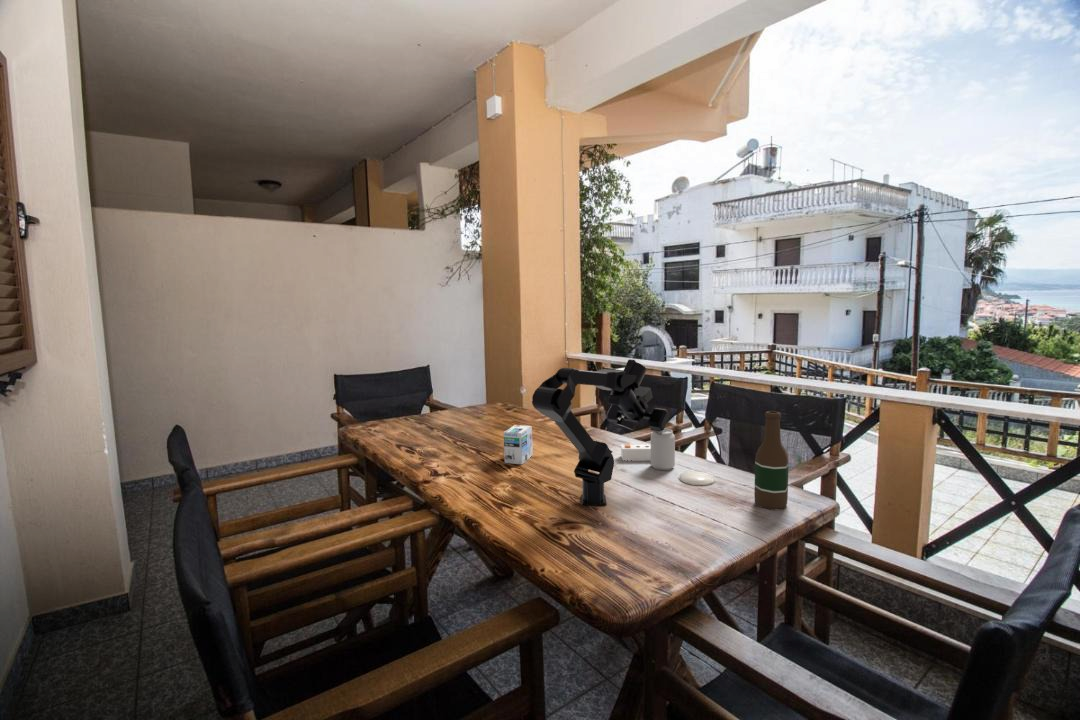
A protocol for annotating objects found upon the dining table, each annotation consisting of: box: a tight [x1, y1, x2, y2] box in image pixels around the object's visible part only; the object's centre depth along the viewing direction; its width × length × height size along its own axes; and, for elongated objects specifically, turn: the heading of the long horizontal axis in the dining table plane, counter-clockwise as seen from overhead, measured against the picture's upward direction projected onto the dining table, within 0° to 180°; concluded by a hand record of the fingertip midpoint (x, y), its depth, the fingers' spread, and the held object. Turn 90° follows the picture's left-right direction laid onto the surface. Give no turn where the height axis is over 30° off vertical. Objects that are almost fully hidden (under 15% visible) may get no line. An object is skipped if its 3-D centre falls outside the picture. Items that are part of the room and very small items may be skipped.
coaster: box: [678, 471, 716, 486], centre depth 143 cm, size 10×10×1 cm
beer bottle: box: [754, 410, 789, 511], centre depth 123 cm, size 8×8×24 cm
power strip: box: [620, 443, 651, 462], centre depth 163 cm, size 5×14×5 cm, turn 86°
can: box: [650, 428, 676, 471], centre depth 154 cm, size 8×8×12 cm
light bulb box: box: [503, 424, 534, 465], centre depth 166 cm, size 11×7×11 cm, turn 161°
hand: (647, 431), depth 147 cm, fingers open, 9 cm apart
